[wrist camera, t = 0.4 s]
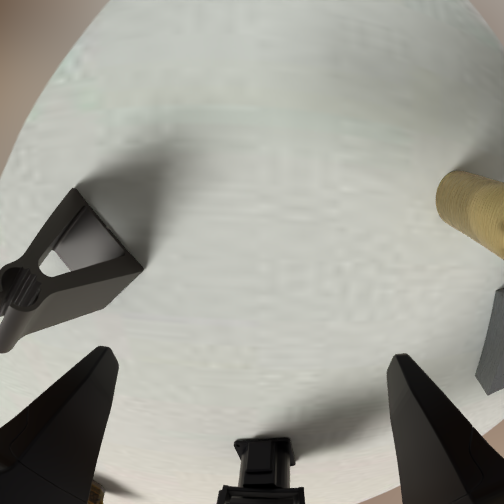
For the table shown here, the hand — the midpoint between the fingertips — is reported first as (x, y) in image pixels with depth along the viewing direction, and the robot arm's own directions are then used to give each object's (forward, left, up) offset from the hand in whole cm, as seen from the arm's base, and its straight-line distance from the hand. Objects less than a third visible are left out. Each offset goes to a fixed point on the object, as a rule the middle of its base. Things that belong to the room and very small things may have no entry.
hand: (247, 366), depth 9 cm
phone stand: (+1, +15, -14) cm, 20 cm away
